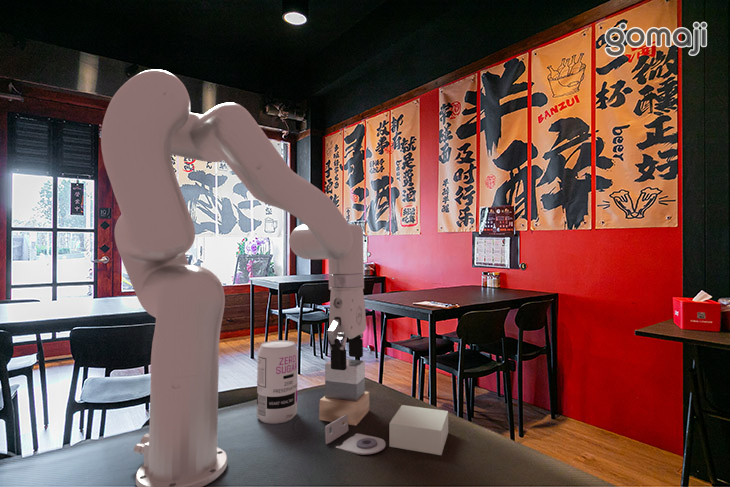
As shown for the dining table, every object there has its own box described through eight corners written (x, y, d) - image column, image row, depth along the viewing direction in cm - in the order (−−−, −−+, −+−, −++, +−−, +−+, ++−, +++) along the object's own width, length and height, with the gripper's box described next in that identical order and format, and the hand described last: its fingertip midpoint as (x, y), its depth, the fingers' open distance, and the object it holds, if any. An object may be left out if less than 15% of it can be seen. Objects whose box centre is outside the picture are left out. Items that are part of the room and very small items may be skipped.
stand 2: (389, 446, 67) (389, 423, 67) (401, 425, 76) (401, 405, 76) (441, 455, 64) (441, 430, 64) (448, 432, 73) (448, 411, 73)
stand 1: (319, 419, 78) (319, 399, 78) (335, 405, 86) (335, 387, 86) (356, 425, 76) (356, 404, 76) (369, 410, 83) (369, 391, 83)
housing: (324, 397, 80) (325, 363, 80) (334, 390, 84) (334, 357, 85) (356, 401, 77) (356, 366, 78) (364, 393, 82) (364, 360, 82)
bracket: (372, 462, 63) (372, 440, 63) (324, 446, 68) (324, 426, 68) (392, 446, 68) (392, 426, 68) (346, 432, 74) (346, 413, 74)
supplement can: (269, 407, 85) (270, 338, 85) (303, 411, 83) (304, 341, 83) (248, 422, 77) (249, 346, 78) (285, 427, 75) (286, 349, 75)
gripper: (347, 285, 73) (349, 377, 72) (375, 279, 89) (376, 353, 89) (311, 285, 75) (313, 373, 75) (345, 279, 91) (346, 351, 91)
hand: (347, 362), depth 82 cm, fingers open, 9 cm apart
